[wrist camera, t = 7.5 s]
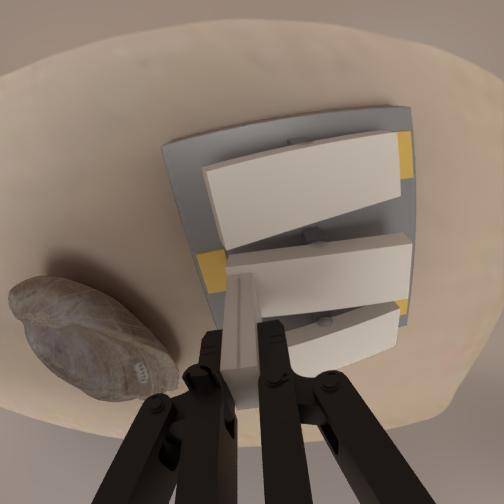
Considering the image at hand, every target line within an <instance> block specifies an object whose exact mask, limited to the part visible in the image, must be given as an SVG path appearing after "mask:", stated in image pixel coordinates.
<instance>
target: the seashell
mask: <svg viewBox="0 0 504 504" xmlns="http://www.w3.org/2000/svg"><path fill="white" fill-rule="evenodd" d="M8 300H9V306H10V309H11V311H12V313H13V314H14V316H15V317H16V318H17V319H19V320H20V321H21V322H22V323H23V324H24V328H25V334H26V338H27V340H28V343H29V345H30V347H31V348H32V350H33V351H34V353H35V354H36V355H37V357H38V358H39V359H40V360H41V361H42V362H43V363H44V365H45V366H46V367H47V368H49V369H50V370H51V371H52V372H53V373H54V374H56V375H57V376H58V377H60V378H61V379H63V380H65V381H66V382H68V383H70V384H72V385H73V386H75V387H77V388H79V389H81V390H82V391H83V392H85V393H86V394H87V395H89V396H91V397H93V398H95V399H98V400H103V401H109V402H121V401H128V400H132V399H135V398H139V399H143V400H146V399H147V398H148V397H150V396H151V395H154V394H157V393H164V392H166V391H172V390H175V389H176V388H177V385H178V380H179V370H178V368H177V366H176V364H175V362H174V360H173V359H172V357H171V355H170V353H169V352H168V350H167V349H166V348H165V346H164V345H163V344H162V343H161V342H160V341H159V340H158V339H157V338H156V337H155V335H154V334H153V333H152V332H151V331H150V330H149V329H148V328H147V327H146V326H145V325H144V324H143V323H142V322H141V321H139V320H138V319H137V318H136V317H135V316H134V315H133V314H132V313H131V312H130V311H129V310H127V309H126V308H125V307H124V306H123V305H122V304H121V303H119V302H118V301H116V300H115V299H114V298H112V297H110V296H109V295H107V294H105V293H103V292H101V291H98V290H96V289H94V288H91V287H89V286H86V285H84V284H81V283H79V282H76V281H72V280H69V279H66V278H62V277H55V276H38V277H34V278H30V279H27V280H25V281H23V282H21V283H19V284H18V285H16V286H15V287H13V288H12V289H11V290H10V292H9V297H8Z"/></svg>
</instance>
